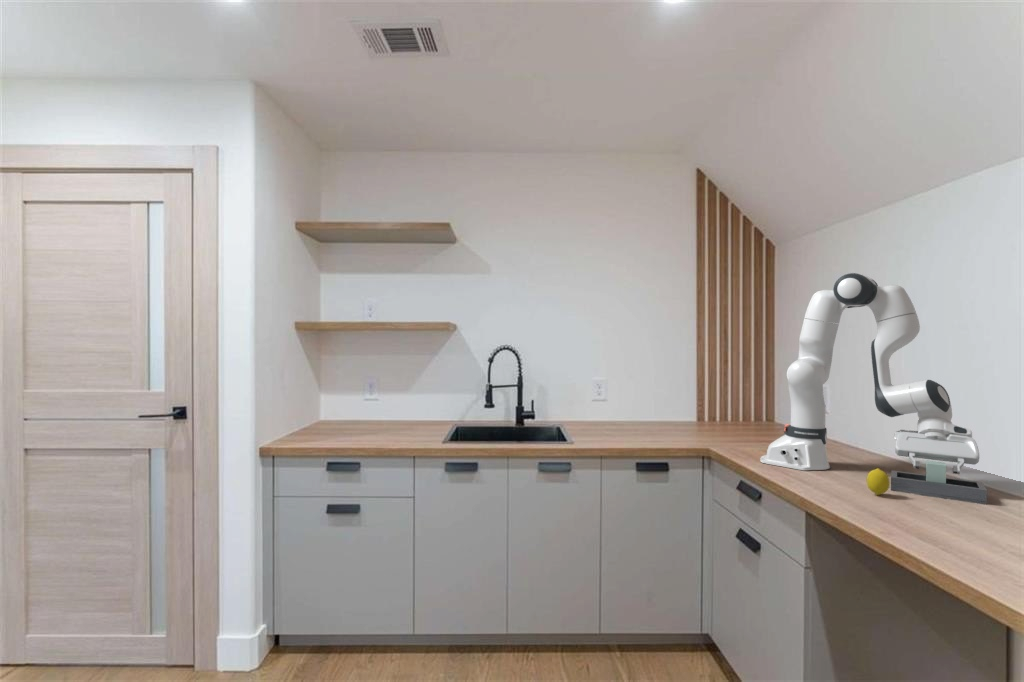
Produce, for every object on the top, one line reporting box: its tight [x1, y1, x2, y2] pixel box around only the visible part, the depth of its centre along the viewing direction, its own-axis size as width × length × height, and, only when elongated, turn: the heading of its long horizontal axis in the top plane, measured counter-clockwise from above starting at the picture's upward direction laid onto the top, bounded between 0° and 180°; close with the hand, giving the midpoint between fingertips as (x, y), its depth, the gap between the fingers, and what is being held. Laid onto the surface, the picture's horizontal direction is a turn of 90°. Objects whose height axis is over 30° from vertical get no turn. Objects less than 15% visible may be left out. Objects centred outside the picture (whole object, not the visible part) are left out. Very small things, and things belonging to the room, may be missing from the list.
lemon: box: [866, 467, 890, 496], centre depth 157 cm, size 6×6×8 cm
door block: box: [925, 460, 947, 484], centre depth 160 cm, size 4×4×8 cm
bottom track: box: [890, 470, 988, 505], centre depth 160 cm, size 22×10×4 cm, turn 54°
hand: (936, 470), depth 159 cm, fingers open, 8 cm apart
